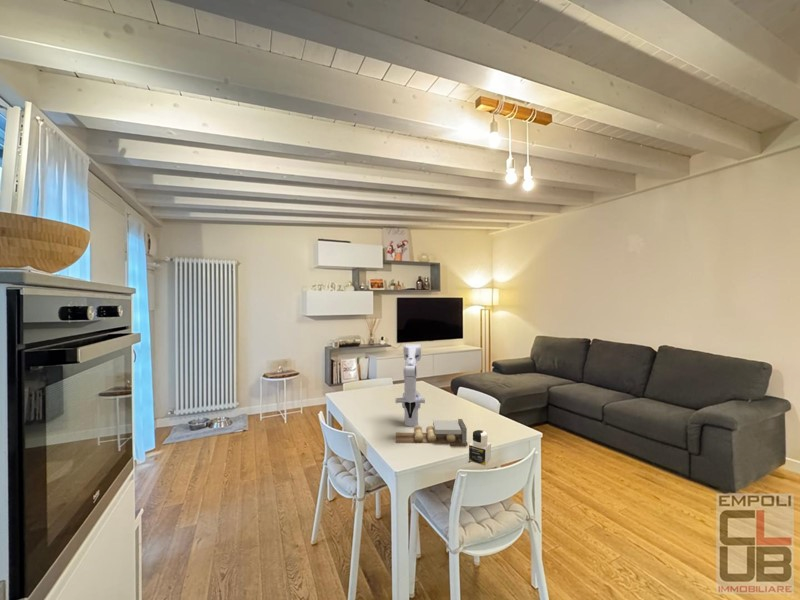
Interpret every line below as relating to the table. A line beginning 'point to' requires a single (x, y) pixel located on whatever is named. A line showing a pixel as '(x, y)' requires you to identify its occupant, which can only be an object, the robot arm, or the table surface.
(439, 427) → the slab
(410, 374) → the robot arm
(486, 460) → the medicine bottle
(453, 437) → the roller
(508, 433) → the table surface
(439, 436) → the roller board
